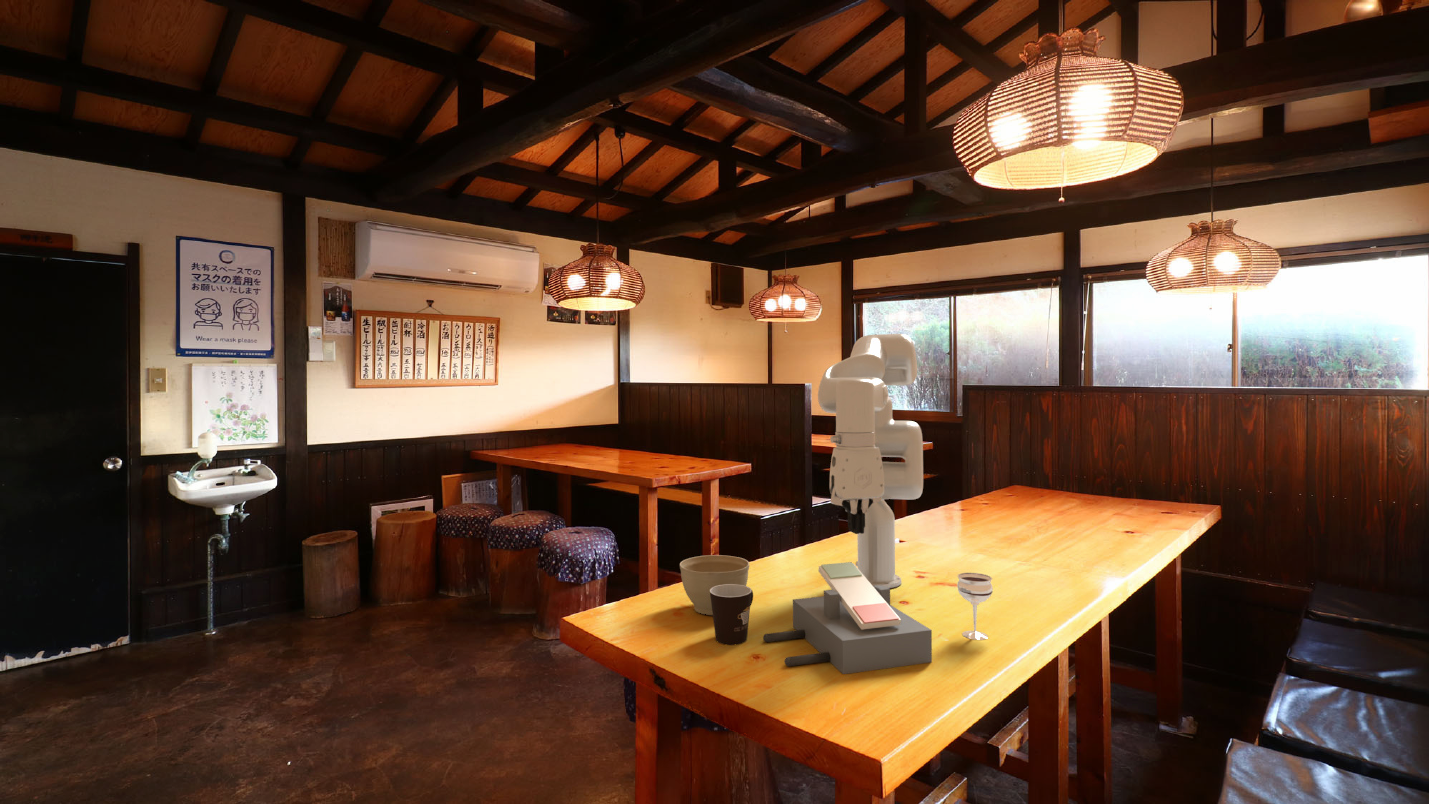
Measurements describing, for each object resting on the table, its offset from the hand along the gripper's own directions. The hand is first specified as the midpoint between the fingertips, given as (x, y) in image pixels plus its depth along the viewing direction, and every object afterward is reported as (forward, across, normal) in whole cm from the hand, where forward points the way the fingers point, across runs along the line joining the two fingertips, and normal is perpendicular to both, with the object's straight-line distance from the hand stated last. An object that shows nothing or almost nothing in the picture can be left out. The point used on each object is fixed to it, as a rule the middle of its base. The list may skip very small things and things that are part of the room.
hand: (856, 532), depth 130 cm
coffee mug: (+22, -22, +10) cm, 33 cm away
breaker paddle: (+12, 0, 0) cm, 12 cm away
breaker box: (+22, -5, 0) cm, 23 cm away
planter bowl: (+23, -22, +28) cm, 42 cm away
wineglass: (+23, +25, -4) cm, 34 cm away
